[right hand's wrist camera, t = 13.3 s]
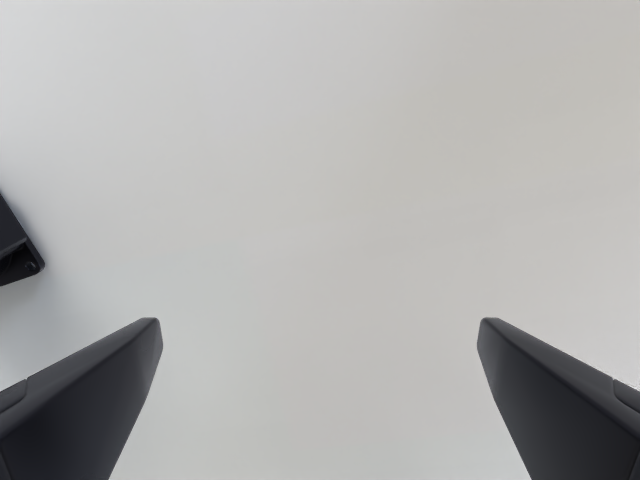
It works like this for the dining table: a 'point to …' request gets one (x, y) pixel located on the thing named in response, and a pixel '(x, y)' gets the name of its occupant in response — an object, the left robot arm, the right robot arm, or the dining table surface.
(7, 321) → the dining table surface
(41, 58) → the dining table surface
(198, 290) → the dining table surface
